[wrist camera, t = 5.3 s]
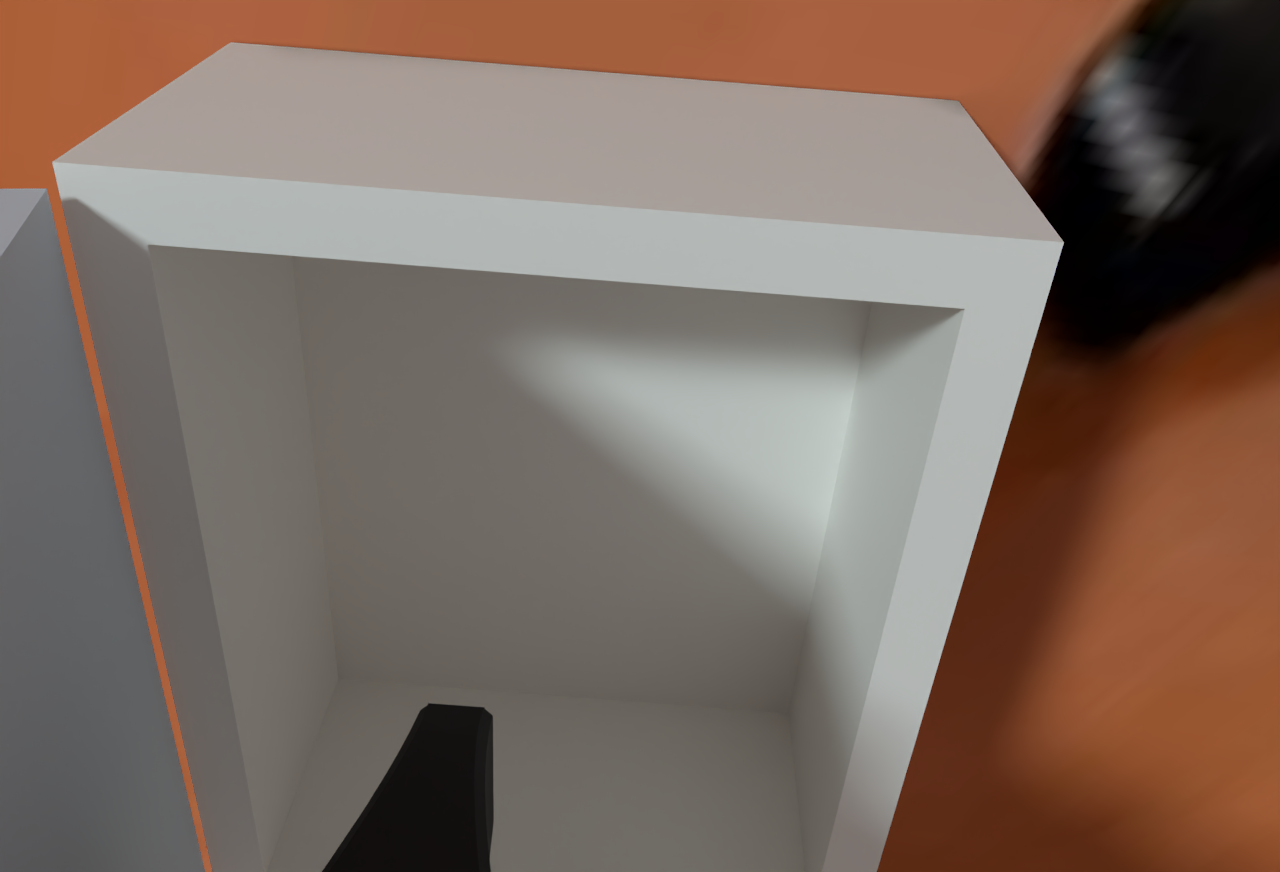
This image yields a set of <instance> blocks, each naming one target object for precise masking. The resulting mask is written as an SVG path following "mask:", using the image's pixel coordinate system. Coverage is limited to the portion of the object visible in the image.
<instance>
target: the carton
mask: <svg viewBox="0 0 1280 872" xmlns="http://www.w3.org/2000/svg"><path fill="white" fill-rule="evenodd" d="M52 163H53V167H54V172H55V176H56V180H57V185H58V189H59V194H60V198H61V203H62V207H63V211H64V216H65V220H66V225H67V229H68V234H69V238H70V243H71V247H72V251H73V256H74V260H75V265H76V269H77V274H78V278H79V282H80V287H81V291H82V296H83V300H84V305H85V309H86V313H87V318H88V322H89V327H90V331H91V336H92V340H93V344H94V349H95V353H96V358H97V362H98V367H99V371H100V375H101V380H102V384H103V389H104V393H105V398H106V402H107V406H108V411H109V415H110V420H111V424H112V429H113V433H114V437H115V442H116V446H117V451H118V455H119V460H120V464H121V468H122V473H123V477H124V482H125V486H126V491H127V495H128V499H129V504H130V508H131V513H132V517H133V522H134V526H135V530H136V535H137V539H138V544H139V548H140V553H141V557H142V561H143V566H144V570H145V575H146V579H147V584H148V588H149V592H150V597H151V601H152V606H153V610H154V615H155V619H156V623H157V628H158V632H159V637H160V641H161V646H162V650H163V655H164V659H165V663H166V668H167V672H168V677H169V681H170V686H171V690H172V694H173V699H174V703H175V708H176V712H177V717H178V721H179V725H180V730H181V734H182V739H183V743H184V748H185V752H186V756H187V761H188V765H189V770H190V774H191V779H192V783H193V787H194V792H195V796H196V801H197V805H198V810H199V814H200V818H201V823H202V827H203V832H204V836H205V841H206V845H207V849H208V854H209V858H210V863H211V867H212V872H322V871H323V869H324V868H325V866H326V865H327V864H328V862H329V861H330V859H331V858H332V856H333V855H334V853H335V852H336V850H337V849H338V847H339V846H340V844H341V843H342V841H343V840H344V838H345V837H346V835H347V834H348V832H349V831H350V829H351V828H352V826H353V825H354V823H355V822H356V820H357V819H358V817H359V816H360V814H361V813H362V812H363V810H364V808H365V807H366V805H367V804H368V802H369V801H370V799H371V797H372V796H373V794H374V792H375V791H376V789H377V788H378V786H379V784H380V783H381V781H382V779H383V778H384V776H385V775H386V773H387V771H388V769H389V768H390V766H391V764H392V763H393V761H394V759H395V757H396V756H397V754H398V752H399V750H400V749H401V747H402V745H403V743H404V741H405V739H406V737H407V736H408V734H409V732H410V730H411V728H412V726H413V724H414V722H415V720H416V718H417V716H418V714H419V712H420V710H421V709H422V708H424V707H425V706H427V705H428V703H433V704H446V705H460V706H473V707H485V709H486V710H487V711H488V712H489V713H490V714H492V715H493V797H494V823H493V832H492V841H491V850H490V868H491V872H877V869H878V866H879V863H880V859H881V856H882V853H883V849H884V846H885V843H886V839H887V836H888V832H889V829H890V826H891V822H892V819H893V816H894V812H895V809H896V806H897V802H898V799H899V795H900V792H901V789H902V785H903V782H904V779H905V775H906V772H907V769H908V765H909V762H910V758H911V755H912V752H913V748H914V745H915V742H916V738H917V735H918V732H919V728H920V725H921V721H922V718H923V715H924V711H925V708H926V705H927V701H928V698H929V695H930V691H931V688H932V684H933V681H934V678H935V674H936V671H937V668H938V664H939V661H940V657H941V654H942V651H943V647H944V644H945V641H946V637H947V634H948V631H949V627H950V624H951V620H952V617H953V614H954V610H955V607H956V604H957V600H958V597H959V594H960V590H961V587H962V583H963V580H964V577H965V573H966V570H967V567H968V563H969V560H970V557H971V553H972V550H973V546H974V543H975V540H976V536H977V533H978V530H979V526H980V523H981V520H982V516H983V513H984V509H985V506H986V503H987V499H988V496H989V493H990V489H991V486H992V483H993V479H994V476H995V472H996V469H997V466H998V462H999V459H1000V456H1001V452H1002V449H1003V445H1004V442H1005V439H1006V435H1007V432H1008V429H1009V425H1010V422H1011V419H1012V415H1013V412H1014V408H1015V405H1016V402H1017V398H1018V395H1019V392H1020V388H1021V385H1022V382H1023V378H1024V375H1025V371H1026V368H1027V365H1028V361H1029V358H1030V355H1031V351H1032V348H1033V345H1034V341H1035V338H1036V334H1037V331H1038V328H1039V324H1040V321H1041V318H1042V314H1043V311H1044V308H1045V304H1046V301H1047V297H1048V294H1049V291H1050V287H1051V284H1052V281H1053V277H1054V274H1055V271H1056V267H1057V264H1058V260H1059V257H1060V254H1061V250H1062V247H1063V244H1064V242H1063V240H1062V239H1061V238H1060V236H1059V235H1058V234H1057V232H1056V231H1055V230H1054V228H1053V227H1052V226H1051V224H1050V223H1049V222H1048V220H1047V219H1046V218H1045V216H1044V215H1043V214H1042V212H1041V211H1040V210H1039V208H1038V207H1037V206H1036V204H1035V203H1034V202H1033V200H1032V199H1031V198H1030V196H1029V195H1028V194H1027V192H1026V191H1025V189H1024V188H1023V187H1022V185H1021V184H1020V183H1019V181H1018V180H1017V179H1016V177H1015V176H1014V175H1013V173H1012V172H1011V171H1010V169H1009V168H1008V167H1007V165H1006V164H1005V163H1004V161H1003V160H1002V159H1001V157H1000V156H999V155H998V153H997V152H996V151H995V149H994V148H993V147H992V145H991V144H990V143H989V141H988V140H987V139H986V137H985V136H984V134H983V133H982V132H981V130H980V129H979V128H978V126H977V125H976V124H975V122H974V121H973V120H972V118H971V117H970V116H969V114H968V113H967V112H966V110H965V109H964V108H963V106H962V105H961V104H960V102H959V101H955V100H943V99H930V98H918V97H905V96H893V95H880V94H868V93H855V92H843V91H831V90H818V89H806V88H793V87H781V86H768V85H756V84H743V83H731V82H718V81H706V80H694V79H681V78H669V77H656V76H644V75H631V74H619V73H606V72H594V71H581V70H569V69H557V68H544V67H532V66H519V65H507V64H494V63H482V62H469V61H457V60H444V59H432V58H419V57H407V56H395V55H382V54H370V53H357V52H345V51H332V50H320V49H307V48H295V47H282V46H270V45H258V44H245V43H233V42H230V43H229V44H228V45H226V46H225V47H223V48H222V49H220V50H219V51H217V52H216V53H214V54H213V55H211V56H210V57H208V58H207V59H205V60H204V61H202V62H201V63H199V64H198V65H196V66H195V67H193V68H192V69H190V70H189V71H187V72H186V73H184V74H183V75H181V76H180V77H178V78H177V79H175V80H174V81H172V82H171V83H169V84H168V85H166V86H165V87H163V88H162V89H160V90H159V91H157V92H156V93H154V94H153V95H151V96H150V97H148V98H147V99H145V100H144V101H143V102H141V103H140V104H138V105H137V106H135V107H134V108H132V109H131V110H129V111H128V112H126V113H125V114H123V115H122V116H120V117H119V118H117V119H116V120H114V121H113V122H111V123H110V124H108V125H107V126H105V127H104V128H102V129H101V130H99V131H98V132H96V133H95V134H93V135H92V136H90V137H89V138H87V139H86V140H84V141H83V142H81V143H80V144H78V145H77V146H75V147H74V148H72V149H71V150H69V151H68V152H66V153H65V154H63V155H62V156H60V157H59V158H58V159H56V160H55V161H53V162H52Z"/></svg>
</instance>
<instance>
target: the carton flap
mask: <svg viewBox="0 0 1280 872" xmlns="http://www.w3.org/2000/svg"><path fill="white" fill-rule="evenodd" d="M0 872H205V869H204V865H203V861H202V856H201V852H200V848H199V843H198V839H197V835H196V830H195V826H194V822H193V818H192V813H191V809H190V805H189V800H188V796H187V792H186V787H185V783H184V779H183V774H182V770H181V766H180V761H179V757H178V753H177V748H176V744H175V740H174V735H173V731H172V727H171V723H170V718H169V714H168V710H167V705H166V701H165V697H164V692H163V688H162V684H161V679H160V675H159V671H158V666H157V662H156V658H155V653H154V649H153V645H152V640H151V636H150V632H149V628H148V623H147V619H146V615H145V610H144V606H143V602H142V597H141V593H140V589H139V584H138V580H137V576H136V571H135V567H134V563H133V558H132V554H131V550H130V545H129V541H128V537H127V533H126V528H125V524H124V520H123V515H122V511H121V507H120V502H119V498H118V494H117V489H116V485H115V481H114V476H113V472H112V468H111V463H110V459H109V455H108V451H107V446H106V442H105V438H104V433H103V429H102V425H101V420H100V416H99V412H98V407H97V403H96V399H95V394H94V390H93V386H92V381H91V377H90V373H89V368H88V364H87V360H86V356H85V351H84V347H83V343H82V338H81V334H80V330H79V325H78V321H77V317H76V312H75V308H74V304H73V299H72V295H71V291H70V286H69V282H68V278H67V273H66V269H65V265H64V261H63V256H62V252H61V248H60V243H59V239H58V235H57V230H56V226H55V222H54V217H53V213H52V209H51V204H50V200H49V196H48V191H47V189H0Z"/></svg>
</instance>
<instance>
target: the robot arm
mask: <svg viewBox="0 0 1280 872" xmlns="http://www.w3.org/2000/svg"><path fill="white" fill-rule="evenodd" d="M493 823H494V797H493V715H492V714H490V713H489V712H488V711H487V710H486V709H485V707H473V706H460V705H446V704H433V703H428V705H427V706H425V707H424V708H422V709H421V710H420V712H419V714H418V716H417V718H416V720H415V722H414V724H413V726H412V728H411V730H410V732H409V734H408V736H407V737H406V739H405V741H404V743H403V745H402V747H401V749H400V750H399V752H398V754H397V756H396V757H395V759H394V761H393V763H392V764H391V766H390V768H389V769H388V771H387V773H386V775H385V776H384V778H383V779H382V781H381V783H380V784H379V786H378V788H377V789H376V791H375V792H374V794H373V796H372V797H371V799H370V801H369V802H368V804H367V805H366V807H365V808H364V810H363V812H362V813H361V814H360V816H359V817H358V819H357V820H356V822H355V823H354V825H353V826H352V828H351V829H350V831H349V832H348V834H347V835H346V837H345V838H344V840H343V841H342V843H341V844H340V846H339V847H338V849H337V850H336V852H335V853H334V855H333V856H332V858H331V859H330V861H329V862H328V864H327V865H326V866H325V868H324V869H323V871H322V872H491V868H490V850H491V841H492V832H493Z"/></svg>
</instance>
